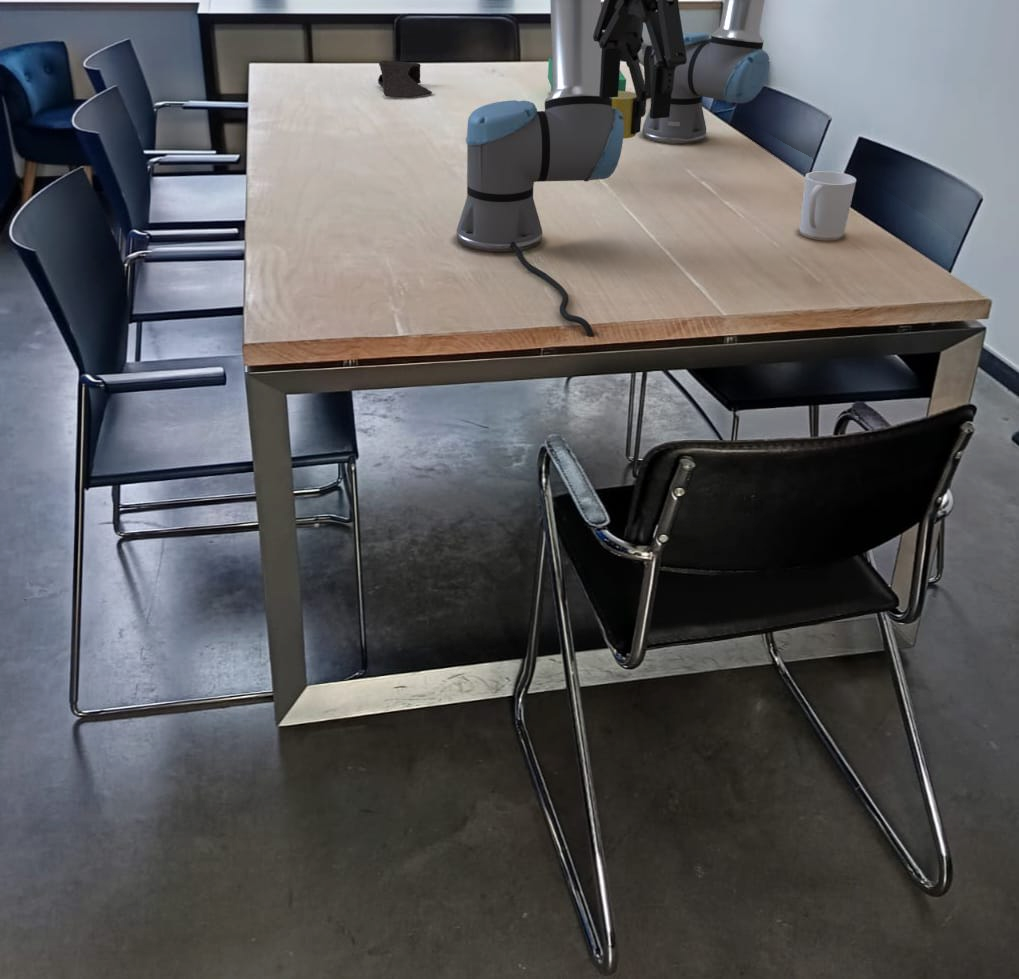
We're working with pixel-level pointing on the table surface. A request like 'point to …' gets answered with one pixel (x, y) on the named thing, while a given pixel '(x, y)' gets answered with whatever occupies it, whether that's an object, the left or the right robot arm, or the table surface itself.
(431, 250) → the table surface
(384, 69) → the axe head
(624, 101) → the canister
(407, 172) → the table surface
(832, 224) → the mug
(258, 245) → the table surface
